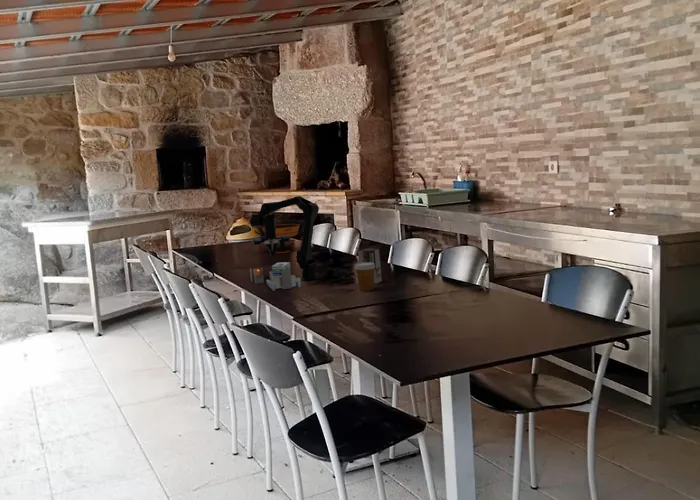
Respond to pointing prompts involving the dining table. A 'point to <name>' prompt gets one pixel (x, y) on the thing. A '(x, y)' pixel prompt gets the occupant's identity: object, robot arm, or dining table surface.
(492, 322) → the dining table surface
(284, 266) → the light bulb box
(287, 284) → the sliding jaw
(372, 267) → the disposable coffee cup
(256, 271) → the lever
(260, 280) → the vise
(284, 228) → the cup
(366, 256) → the coffee box
